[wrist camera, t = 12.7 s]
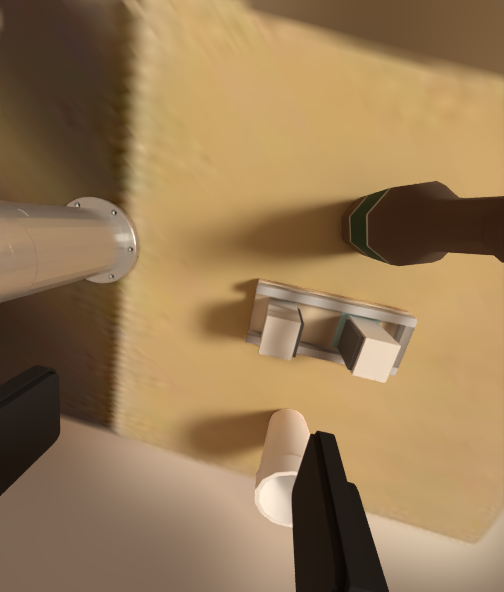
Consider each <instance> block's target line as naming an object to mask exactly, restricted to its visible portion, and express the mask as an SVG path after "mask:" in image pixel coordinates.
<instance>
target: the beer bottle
mask: <svg viewBox="0 0 504 592" xmlns="http://www.w3.org/2000/svg"><path fill="white" fill-rule="evenodd" d="M342 236H343V240H344V241H345V242H346V243H348V244H349V245H350V246H351V247H352V248H354V249H355V250H356V251H357V252H358V253H360V254H362V255H365V256H367V257H370V258H373V259H376V260H379V261H382V262H384V263H387V264H390V265H396V266H405V265H414V264H423V263H432V262H435V261H438V260H441V259H442V258H443V257H444V256H445V255H446V254H447V253H448V252H450V253H466V254H481V255H494V256H495V257H496V258H497V259H499V260H500V261H501V262H502V263H503V262H504V196H499V197H480V198H459V197H458V196H457V195H456V194H454V193H453V192H452V191H451V190H450V189H449V188H448V187H447V186H445V185H444V184H442V183H440V182H437V181H434V182H427V183H420V184H413V185H407V186H400V187H393V188H389V189H386V190H383V191H379V192H376V193H373V194H370V195H367V196H364V197H361V198H359V199H357V200H356V201H355V203H354V204H353V205H352V206H351V207H350V209H349V210H348V211H347V212H346V213H345V215H344V216H343V217H342Z"/></svg>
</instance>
